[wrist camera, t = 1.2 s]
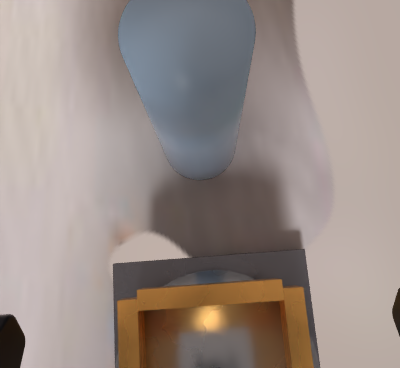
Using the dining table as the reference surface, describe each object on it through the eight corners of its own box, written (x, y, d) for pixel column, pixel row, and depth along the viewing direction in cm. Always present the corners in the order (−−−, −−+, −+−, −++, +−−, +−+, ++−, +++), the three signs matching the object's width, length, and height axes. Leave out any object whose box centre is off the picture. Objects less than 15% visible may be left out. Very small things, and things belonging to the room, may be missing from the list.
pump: (238, 176, 23) (263, 88, 12) (166, 182, 24) (119, 100, 12) (229, 85, 25) (243, -77, 13) (161, 91, 25) (114, -66, 13)
